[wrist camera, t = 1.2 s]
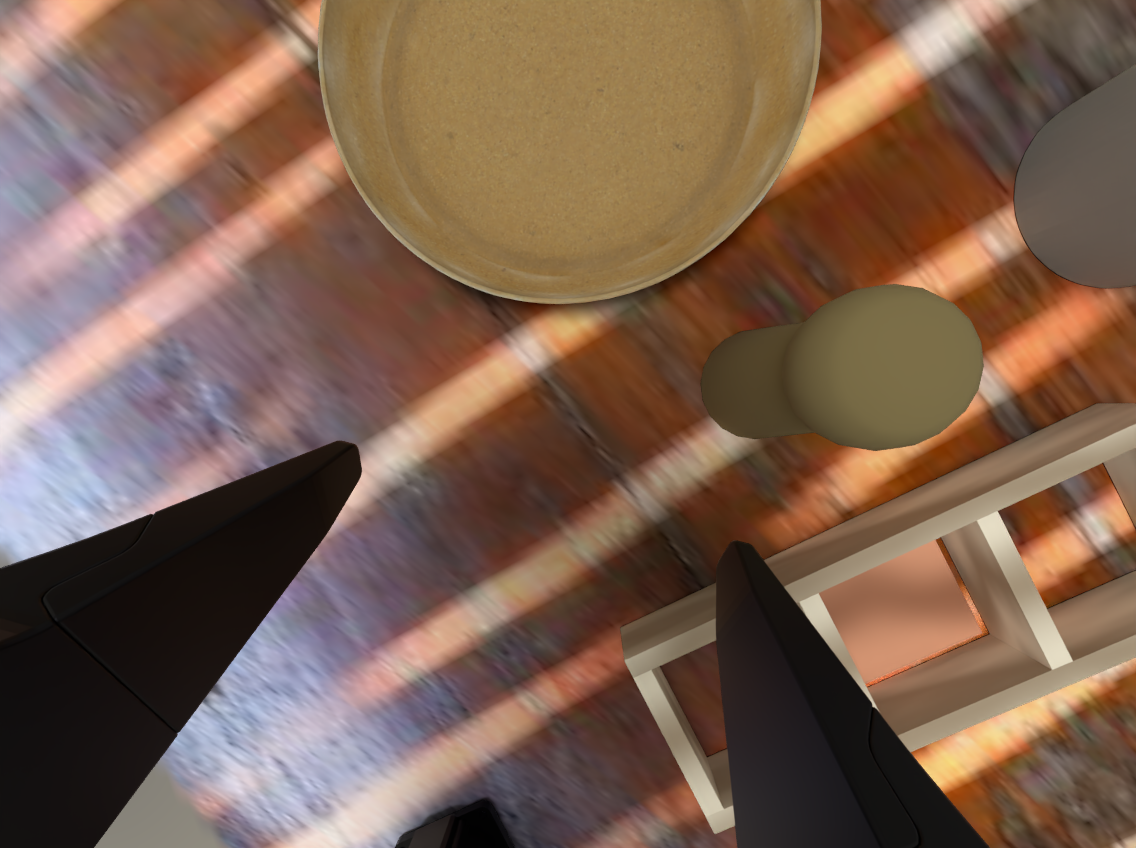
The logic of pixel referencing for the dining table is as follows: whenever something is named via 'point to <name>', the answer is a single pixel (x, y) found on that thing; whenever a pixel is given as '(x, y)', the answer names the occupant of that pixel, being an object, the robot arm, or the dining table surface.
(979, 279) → the dining table surface
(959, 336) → the olive chess pawn
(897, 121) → the dining table surface
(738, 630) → the robot arm
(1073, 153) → the coffee mug
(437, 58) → the plant saucer
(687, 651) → the rack
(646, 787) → the dining table surface
